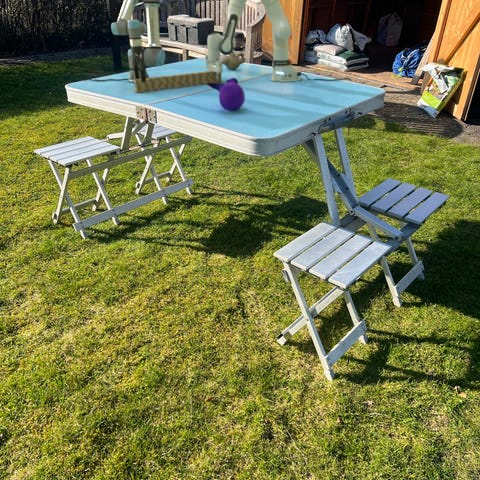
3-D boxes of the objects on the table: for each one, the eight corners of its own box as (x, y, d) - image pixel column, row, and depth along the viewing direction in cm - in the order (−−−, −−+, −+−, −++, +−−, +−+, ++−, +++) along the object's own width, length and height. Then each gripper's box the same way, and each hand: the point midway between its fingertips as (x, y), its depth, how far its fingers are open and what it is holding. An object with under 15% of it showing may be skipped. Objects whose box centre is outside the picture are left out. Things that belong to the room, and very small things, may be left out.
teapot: (225, 72, 364) (224, 52, 356) (218, 70, 372) (217, 50, 365) (247, 69, 373) (247, 50, 365) (240, 67, 381) (240, 48, 374)
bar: (137, 93, 304) (135, 80, 300) (135, 91, 308) (133, 79, 304) (221, 82, 331) (221, 70, 327) (218, 81, 334) (218, 69, 330)
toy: (230, 101, 277) (244, 117, 257) (203, 96, 270) (216, 112, 249) (236, 75, 269) (252, 89, 249) (209, 70, 262) (222, 84, 241)
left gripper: (148, 47, 285) (152, 82, 295) (136, 44, 304) (139, 76, 315) (136, 48, 282) (141, 83, 292) (125, 44, 301) (129, 78, 311)
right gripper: (224, 59, 316) (225, 79, 323) (212, 55, 331) (212, 75, 338) (216, 59, 313) (217, 80, 320) (204, 56, 329) (205, 76, 336)
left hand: (140, 80), depth 303 cm, fingers open, 13 cm apart
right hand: (215, 77), depth 329 cm, fingers closed on bar, 4 cm apart
